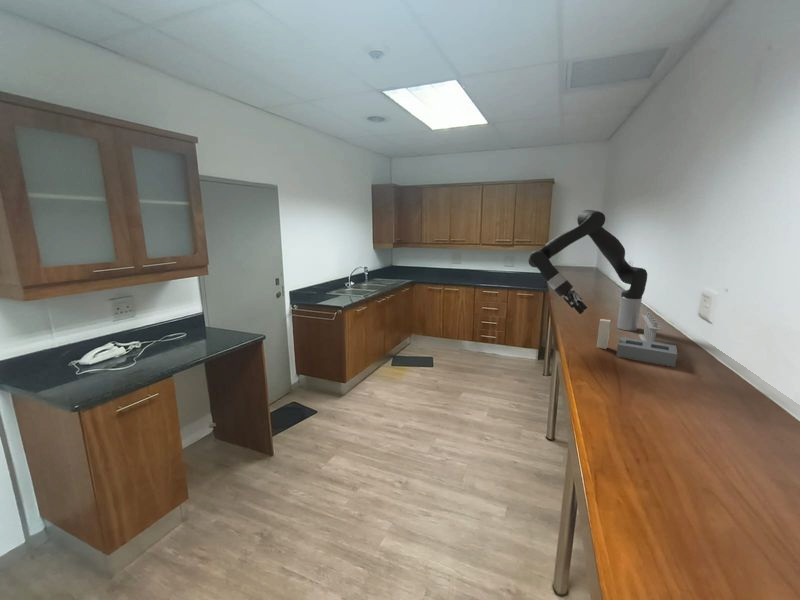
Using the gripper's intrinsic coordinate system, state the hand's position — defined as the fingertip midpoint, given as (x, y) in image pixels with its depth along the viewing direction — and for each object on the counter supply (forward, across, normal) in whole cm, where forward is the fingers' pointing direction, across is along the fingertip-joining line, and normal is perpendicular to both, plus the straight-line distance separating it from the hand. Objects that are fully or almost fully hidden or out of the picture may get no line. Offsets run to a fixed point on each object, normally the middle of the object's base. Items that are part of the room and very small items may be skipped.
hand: (583, 311), depth 162 cm
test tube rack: (+30, +18, -7) cm, 36 cm away
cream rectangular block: (+18, 0, +5) cm, 18 cm away
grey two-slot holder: (+29, -3, -7) cm, 30 cm away
